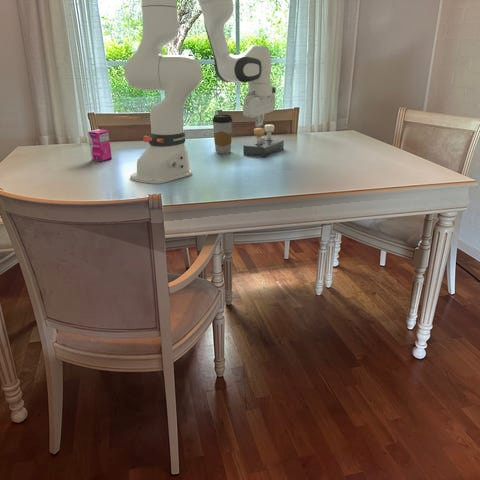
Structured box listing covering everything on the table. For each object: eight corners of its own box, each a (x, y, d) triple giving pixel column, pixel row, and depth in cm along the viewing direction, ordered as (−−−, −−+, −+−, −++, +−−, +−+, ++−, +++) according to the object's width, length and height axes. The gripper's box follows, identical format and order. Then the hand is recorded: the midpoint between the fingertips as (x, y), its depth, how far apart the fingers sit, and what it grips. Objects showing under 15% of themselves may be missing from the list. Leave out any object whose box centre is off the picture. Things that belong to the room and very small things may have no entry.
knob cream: (271, 142, 189) (271, 126, 186) (262, 141, 190) (262, 125, 188) (275, 140, 192) (275, 125, 189) (267, 139, 194) (267, 124, 191)
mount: (264, 157, 180) (265, 147, 178) (243, 154, 185) (243, 145, 183) (283, 149, 193) (283, 140, 192) (263, 146, 198) (263, 137, 196)
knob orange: (260, 146, 182) (261, 130, 179) (252, 145, 183) (252, 129, 181) (265, 144, 185) (265, 128, 182) (256, 143, 187) (257, 127, 184)
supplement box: (91, 160, 178) (86, 131, 173) (101, 157, 182) (97, 128, 178) (102, 162, 175) (98, 132, 171) (112, 158, 180) (108, 130, 175)
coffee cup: (234, 149, 193) (233, 114, 187) (231, 154, 185) (231, 117, 179) (214, 149, 194) (213, 114, 188) (211, 154, 186) (210, 117, 180)
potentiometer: (262, 143, 187) (262, 134, 185) (257, 142, 188) (257, 134, 186) (264, 141, 189) (264, 133, 187) (259, 141, 190) (259, 133, 188)
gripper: (253, 93, 166) (253, 131, 171) (278, 88, 182) (277, 122, 187) (238, 92, 169) (239, 129, 174) (264, 87, 184) (263, 121, 190)
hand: (259, 126), depth 181 cm, fingers closed
